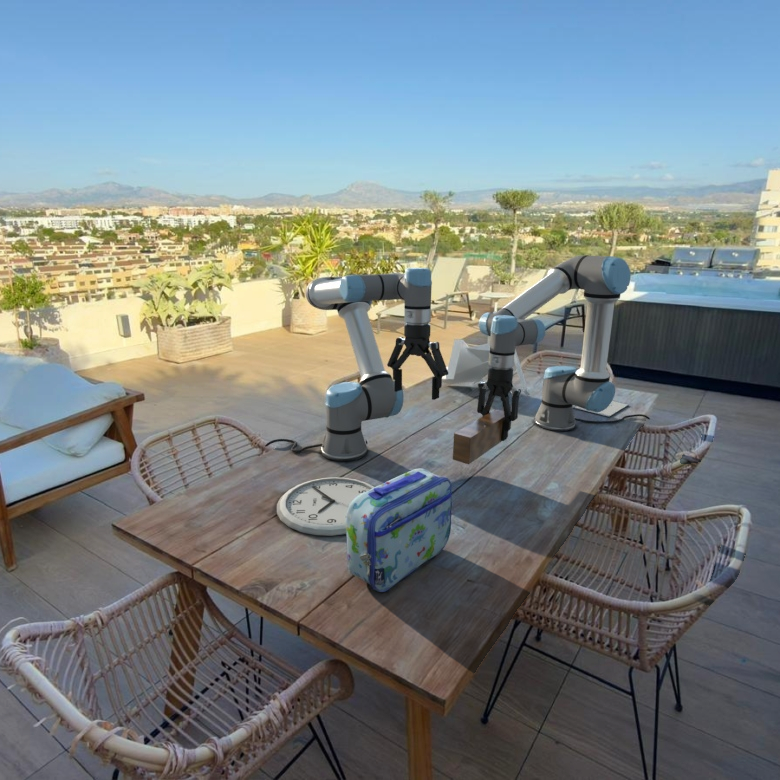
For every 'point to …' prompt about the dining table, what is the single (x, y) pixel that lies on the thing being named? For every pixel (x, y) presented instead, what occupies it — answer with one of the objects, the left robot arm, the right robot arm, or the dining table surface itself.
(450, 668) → the dining table surface
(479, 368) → the white plastic object
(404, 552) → the lunch box
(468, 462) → the bar
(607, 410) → the invitation card
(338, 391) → the left robot arm
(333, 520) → the wall clock
